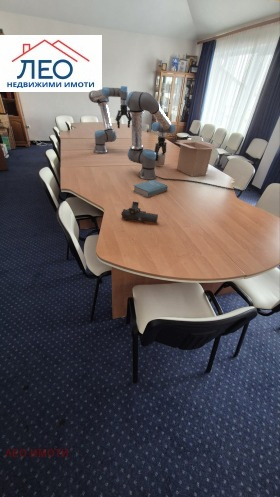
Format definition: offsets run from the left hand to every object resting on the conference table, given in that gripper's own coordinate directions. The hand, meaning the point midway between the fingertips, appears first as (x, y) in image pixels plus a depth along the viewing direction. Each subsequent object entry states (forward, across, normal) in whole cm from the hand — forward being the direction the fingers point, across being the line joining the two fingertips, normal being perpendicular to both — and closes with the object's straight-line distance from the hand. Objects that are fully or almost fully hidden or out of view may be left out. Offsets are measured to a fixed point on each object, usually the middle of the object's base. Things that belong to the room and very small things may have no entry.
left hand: (123, 128), depth 240 cm
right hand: (+24, -14, +46) cm, 53 cm away
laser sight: (+30, +81, +126) cm, 153 cm away
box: (+30, -29, +78) cm, 88 cm away
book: (+30, +42, +94) cm, 108 cm away
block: (+29, -14, +46) cm, 56 cm away
